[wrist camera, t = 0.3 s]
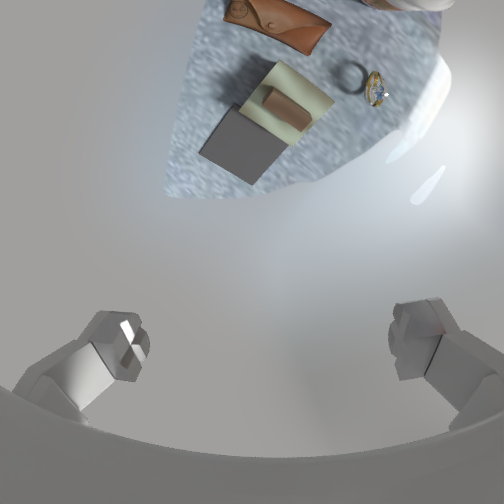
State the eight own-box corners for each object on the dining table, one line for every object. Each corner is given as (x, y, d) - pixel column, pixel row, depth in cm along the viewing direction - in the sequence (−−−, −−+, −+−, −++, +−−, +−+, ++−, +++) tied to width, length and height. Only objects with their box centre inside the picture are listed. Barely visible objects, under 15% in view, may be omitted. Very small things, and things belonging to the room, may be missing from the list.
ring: (364, 65, 41) (378, 73, 36) (379, 71, 42) (394, 80, 36) (355, 96, 46) (366, 109, 41) (369, 101, 47) (382, 114, 41)
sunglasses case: (219, 22, 38) (220, 5, 31) (234, -4, 36) (238, -21, 30) (311, 58, 42) (324, 47, 36) (322, 32, 40) (336, 19, 34)
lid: (279, 59, 39) (280, 63, 36) (334, 101, 43) (339, 109, 40) (239, 109, 46) (235, 118, 43) (291, 145, 51) (293, 156, 48)
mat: (234, 103, 50) (234, 104, 50) (291, 141, 55) (291, 142, 55) (199, 153, 59) (199, 154, 59) (252, 184, 64) (252, 185, 64)
